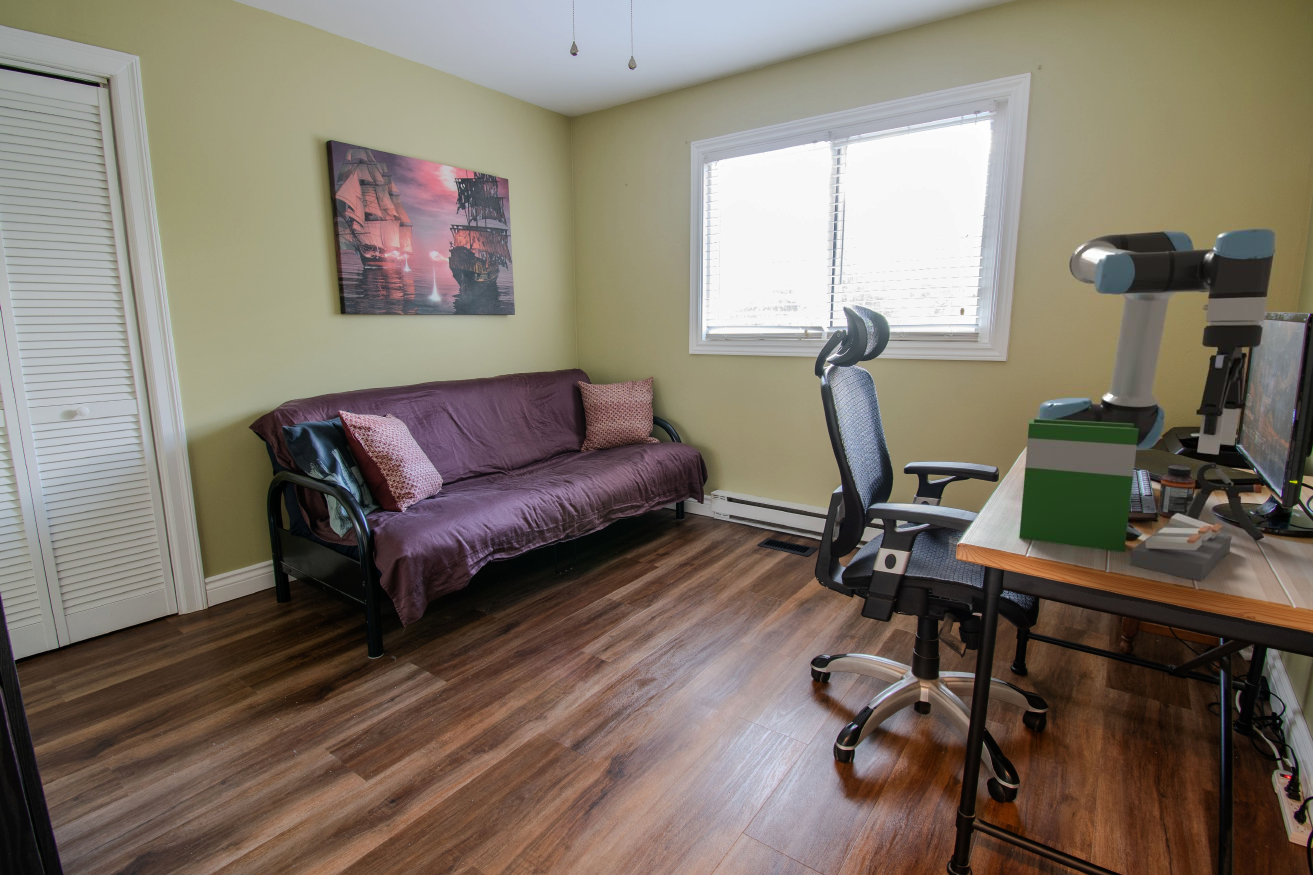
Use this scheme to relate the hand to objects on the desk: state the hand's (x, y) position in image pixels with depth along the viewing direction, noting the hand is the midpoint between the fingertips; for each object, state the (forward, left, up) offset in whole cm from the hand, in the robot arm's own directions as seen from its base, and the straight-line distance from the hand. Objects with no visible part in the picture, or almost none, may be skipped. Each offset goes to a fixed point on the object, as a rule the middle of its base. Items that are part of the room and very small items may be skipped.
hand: (1216, 448), depth 113 cm
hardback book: (+4, -20, -21) cm, 30 cm away
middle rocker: (0, -3, -17) cm, 17 cm away
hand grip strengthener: (-21, -1, -22) cm, 30 cm away
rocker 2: (-8, -3, -17) cm, 18 cm away
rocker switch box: (-3, -3, -21) cm, 22 cm away
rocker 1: (+7, -3, -17) cm, 18 cm away
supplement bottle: (-31, -11, -21) cm, 39 cm away
